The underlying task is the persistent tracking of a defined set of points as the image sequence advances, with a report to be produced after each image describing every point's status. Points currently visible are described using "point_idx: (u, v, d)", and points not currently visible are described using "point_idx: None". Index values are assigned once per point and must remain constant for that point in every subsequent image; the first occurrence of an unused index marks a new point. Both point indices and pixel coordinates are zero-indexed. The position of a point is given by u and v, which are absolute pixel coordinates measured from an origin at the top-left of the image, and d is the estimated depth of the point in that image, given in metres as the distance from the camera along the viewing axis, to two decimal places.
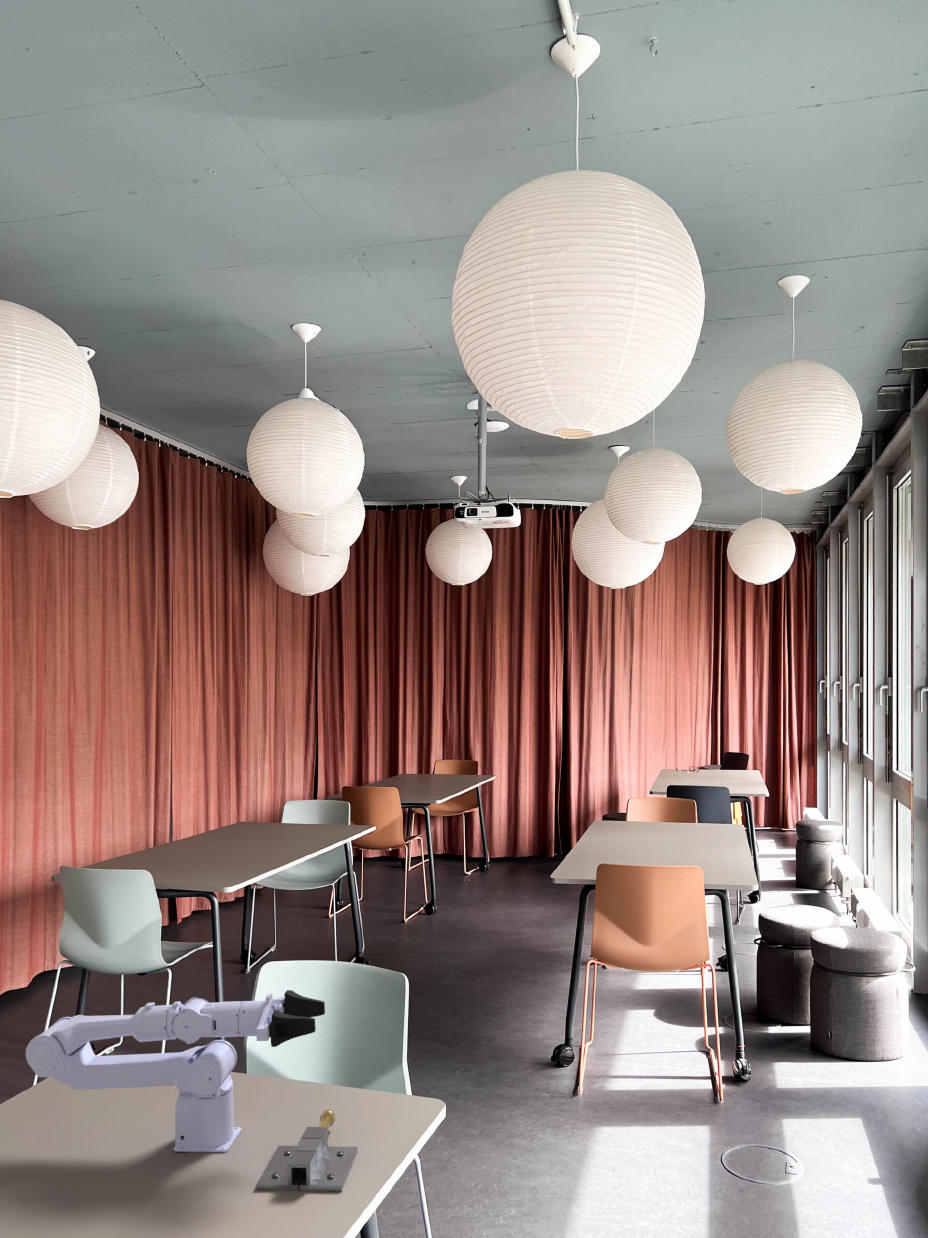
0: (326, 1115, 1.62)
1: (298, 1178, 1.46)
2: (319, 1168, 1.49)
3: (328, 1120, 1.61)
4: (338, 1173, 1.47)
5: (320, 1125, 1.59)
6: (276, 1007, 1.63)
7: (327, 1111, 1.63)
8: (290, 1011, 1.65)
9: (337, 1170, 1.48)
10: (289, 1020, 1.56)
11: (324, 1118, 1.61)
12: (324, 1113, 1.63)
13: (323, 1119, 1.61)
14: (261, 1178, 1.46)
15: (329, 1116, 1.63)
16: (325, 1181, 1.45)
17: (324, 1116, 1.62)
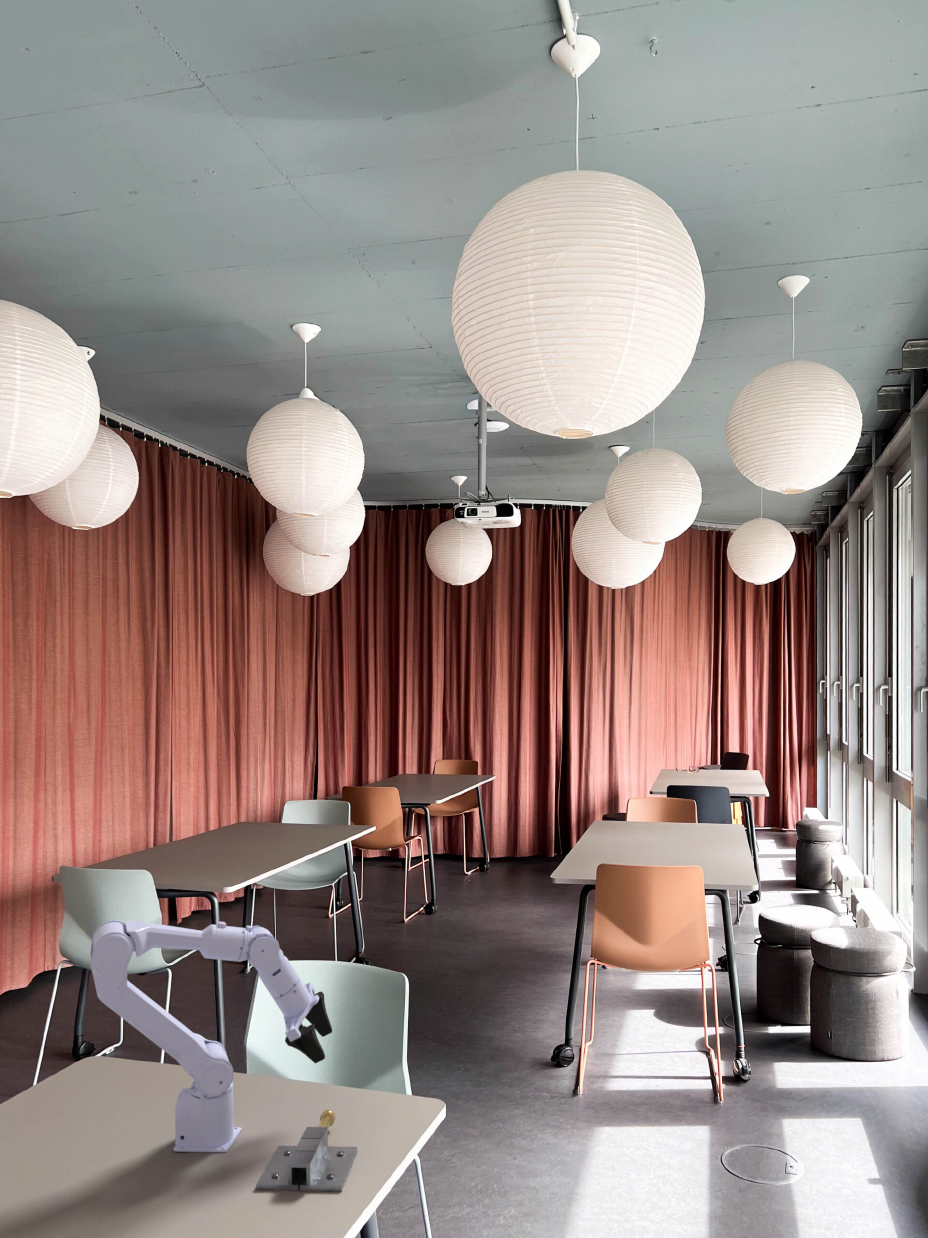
0: (326, 1115, 1.62)
1: (298, 1178, 1.46)
2: (319, 1168, 1.49)
3: (328, 1120, 1.61)
4: (338, 1173, 1.47)
5: (320, 1125, 1.59)
6: None
7: (327, 1111, 1.63)
8: None
9: (337, 1170, 1.48)
10: (314, 1043, 1.63)
11: (324, 1118, 1.61)
12: (324, 1113, 1.63)
13: (323, 1119, 1.61)
14: (261, 1178, 1.46)
15: (329, 1116, 1.63)
16: (325, 1181, 1.45)
17: (324, 1116, 1.62)
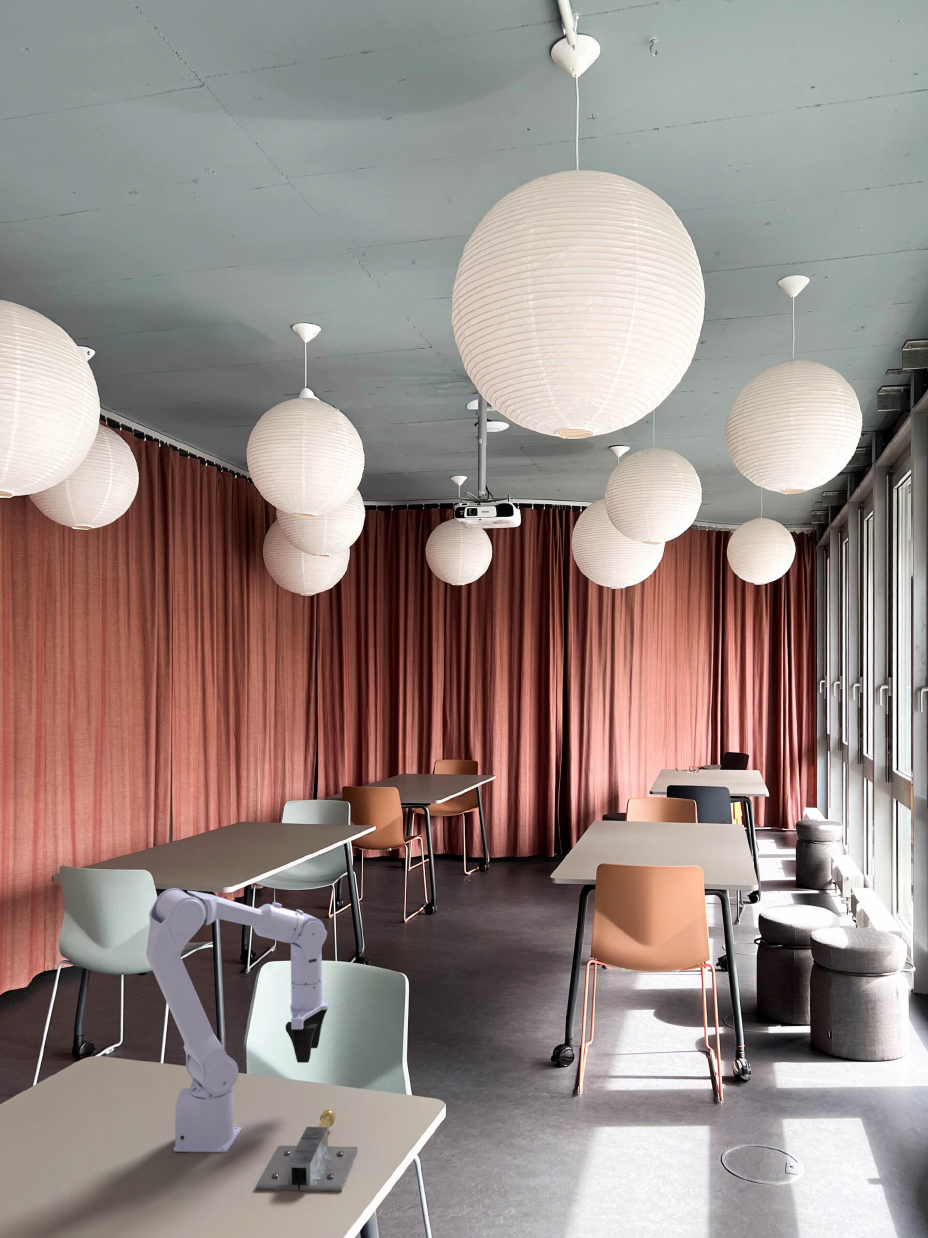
0: (326, 1115, 1.62)
1: (298, 1178, 1.46)
2: (319, 1168, 1.49)
3: (328, 1120, 1.61)
4: (338, 1173, 1.47)
5: (320, 1125, 1.59)
6: None
7: (327, 1111, 1.63)
8: None
9: (337, 1170, 1.48)
10: (309, 1042, 1.68)
11: (324, 1118, 1.61)
12: (324, 1113, 1.63)
13: (323, 1119, 1.61)
14: (261, 1178, 1.46)
15: (329, 1116, 1.63)
16: (325, 1181, 1.45)
17: (324, 1116, 1.62)
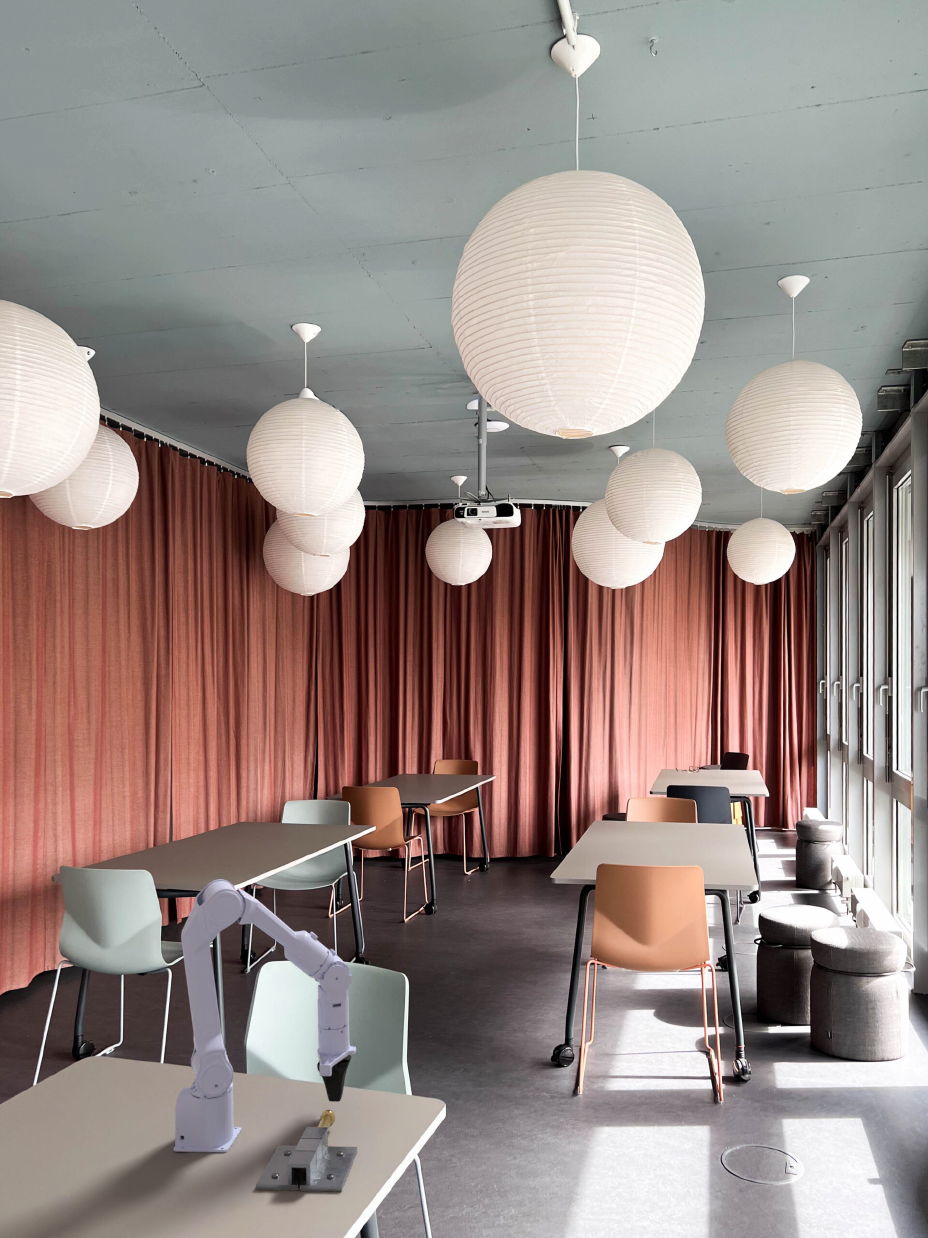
0: (326, 1115, 1.62)
1: (298, 1178, 1.46)
2: (319, 1168, 1.49)
3: (328, 1120, 1.61)
4: (338, 1173, 1.47)
5: (320, 1125, 1.59)
6: None
7: (327, 1111, 1.63)
8: None
9: (337, 1170, 1.48)
10: (340, 1081, 1.68)
11: (324, 1118, 1.61)
12: (324, 1113, 1.63)
13: (323, 1119, 1.61)
14: (261, 1178, 1.46)
15: (329, 1116, 1.63)
16: (325, 1181, 1.45)
17: (324, 1116, 1.62)
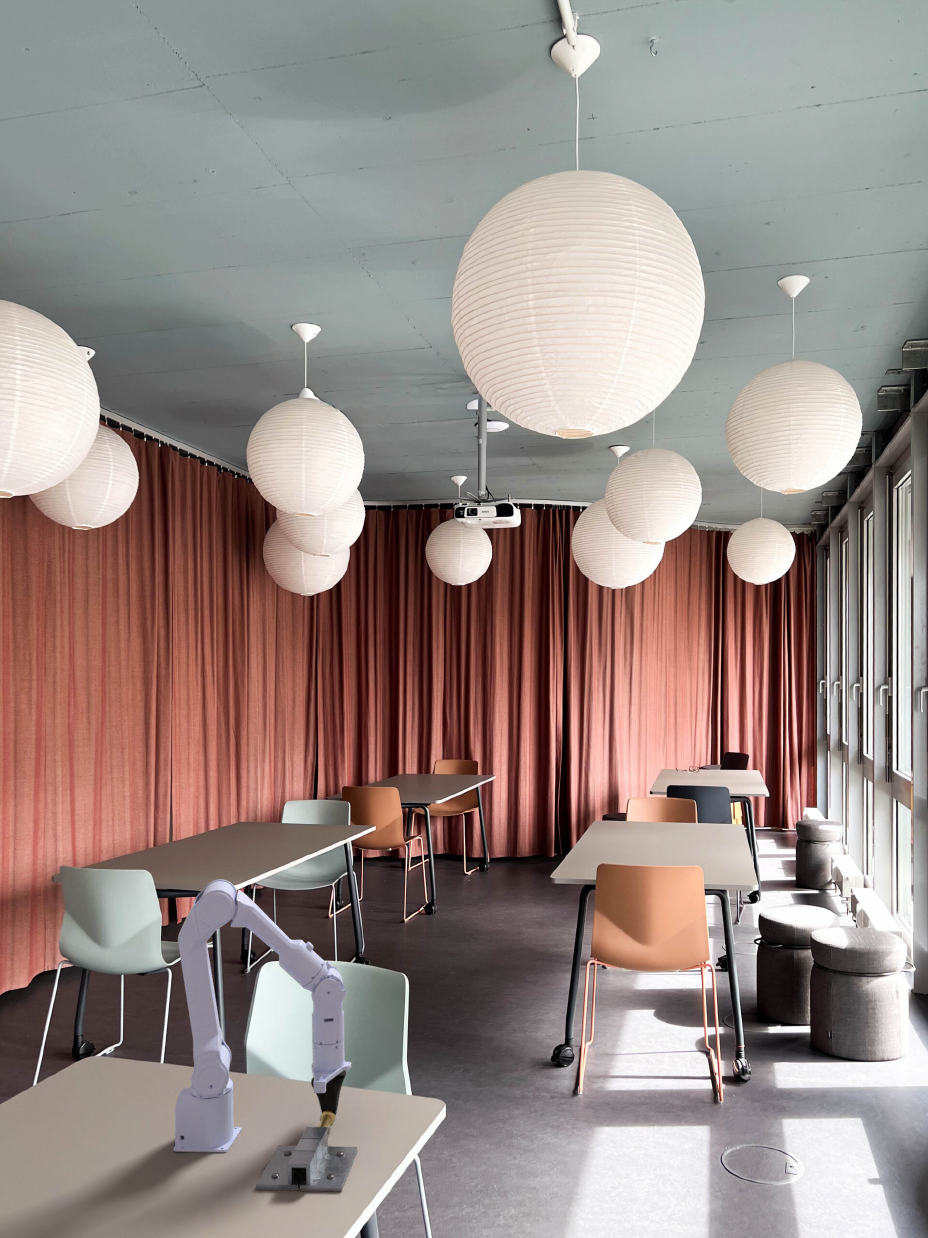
0: (326, 1116, 1.62)
1: (298, 1178, 1.46)
2: (319, 1168, 1.49)
3: (328, 1120, 1.61)
4: (338, 1173, 1.47)
5: (320, 1125, 1.59)
6: None
7: (327, 1111, 1.63)
8: None
9: (337, 1170, 1.48)
10: (335, 1097, 1.63)
11: (324, 1119, 1.61)
12: (324, 1113, 1.63)
13: (322, 1119, 1.61)
14: (261, 1178, 1.46)
15: (329, 1116, 1.63)
16: (325, 1181, 1.45)
17: (324, 1116, 1.62)
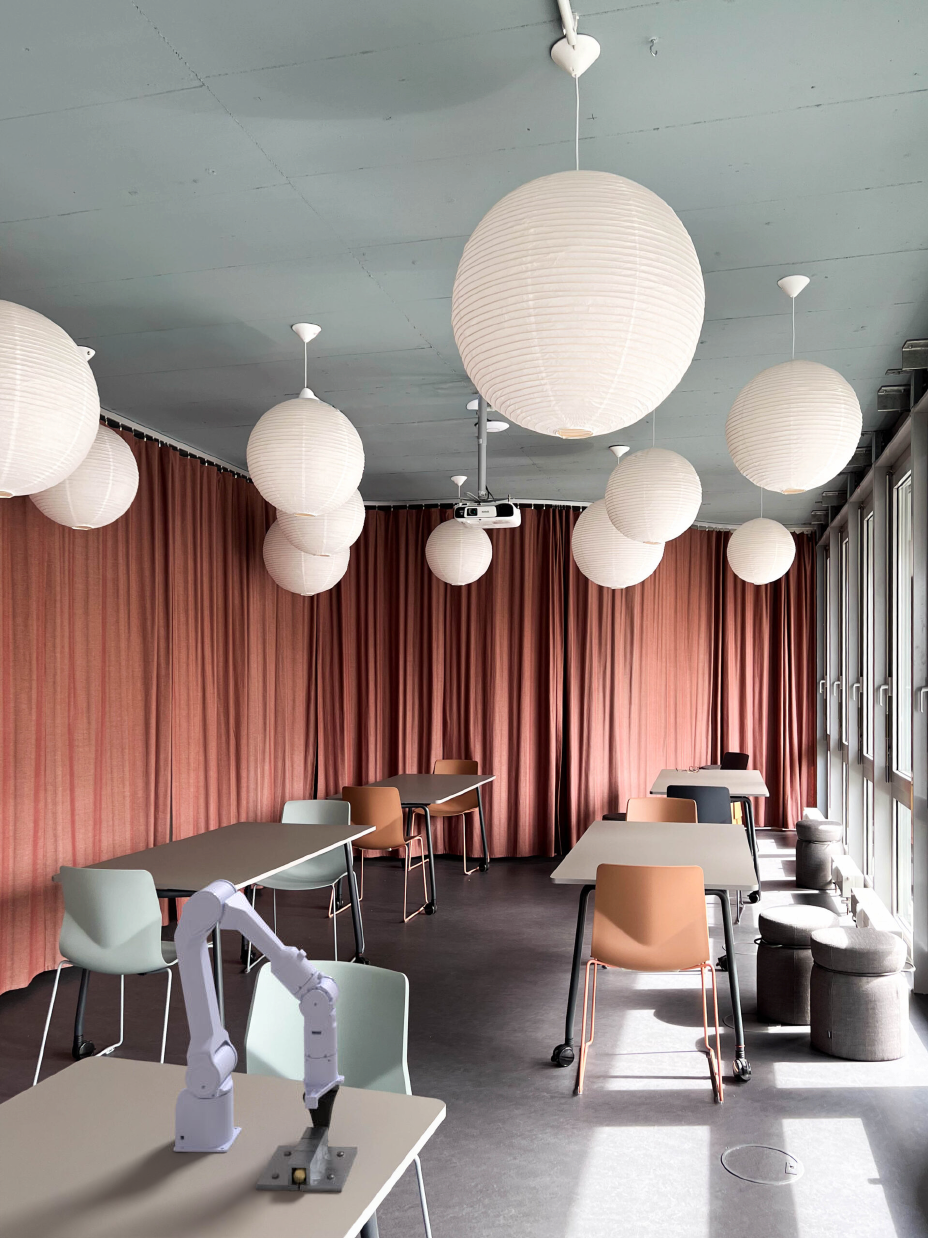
0: None
1: None
2: (319, 1168, 1.49)
3: None
4: (338, 1173, 1.47)
5: None
6: None
7: None
8: None
9: (337, 1170, 1.48)
10: (327, 1112, 1.58)
11: None
12: None
13: None
14: (261, 1178, 1.46)
15: None
16: (325, 1181, 1.45)
17: None
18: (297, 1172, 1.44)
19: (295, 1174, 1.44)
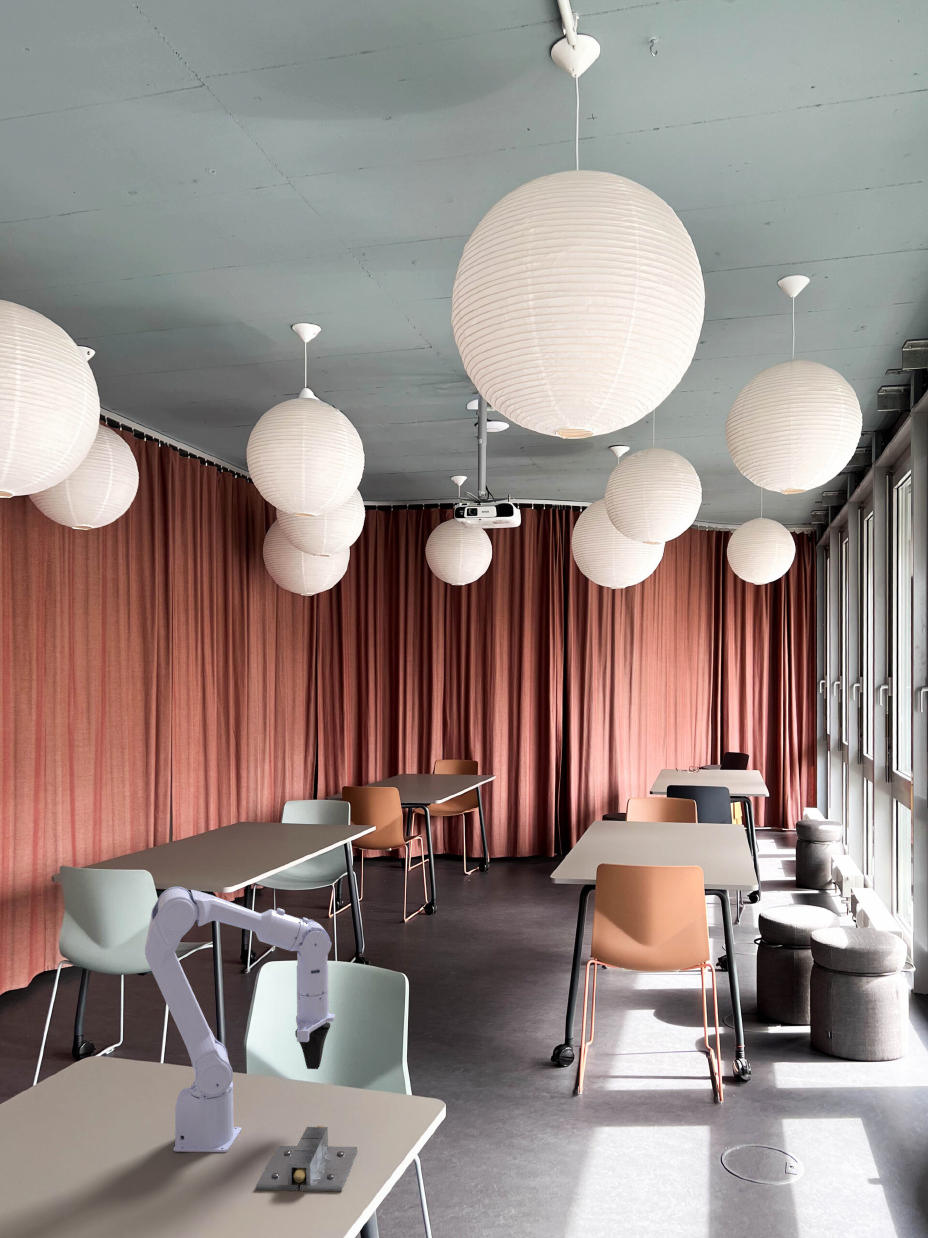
0: None
1: None
2: (319, 1168, 1.49)
3: None
4: (338, 1173, 1.47)
5: None
6: None
7: None
8: None
9: (337, 1170, 1.48)
10: (318, 1048, 1.66)
11: None
12: None
13: None
14: (261, 1178, 1.46)
15: None
16: (325, 1181, 1.45)
17: None
18: (297, 1172, 1.44)
19: (295, 1174, 1.44)
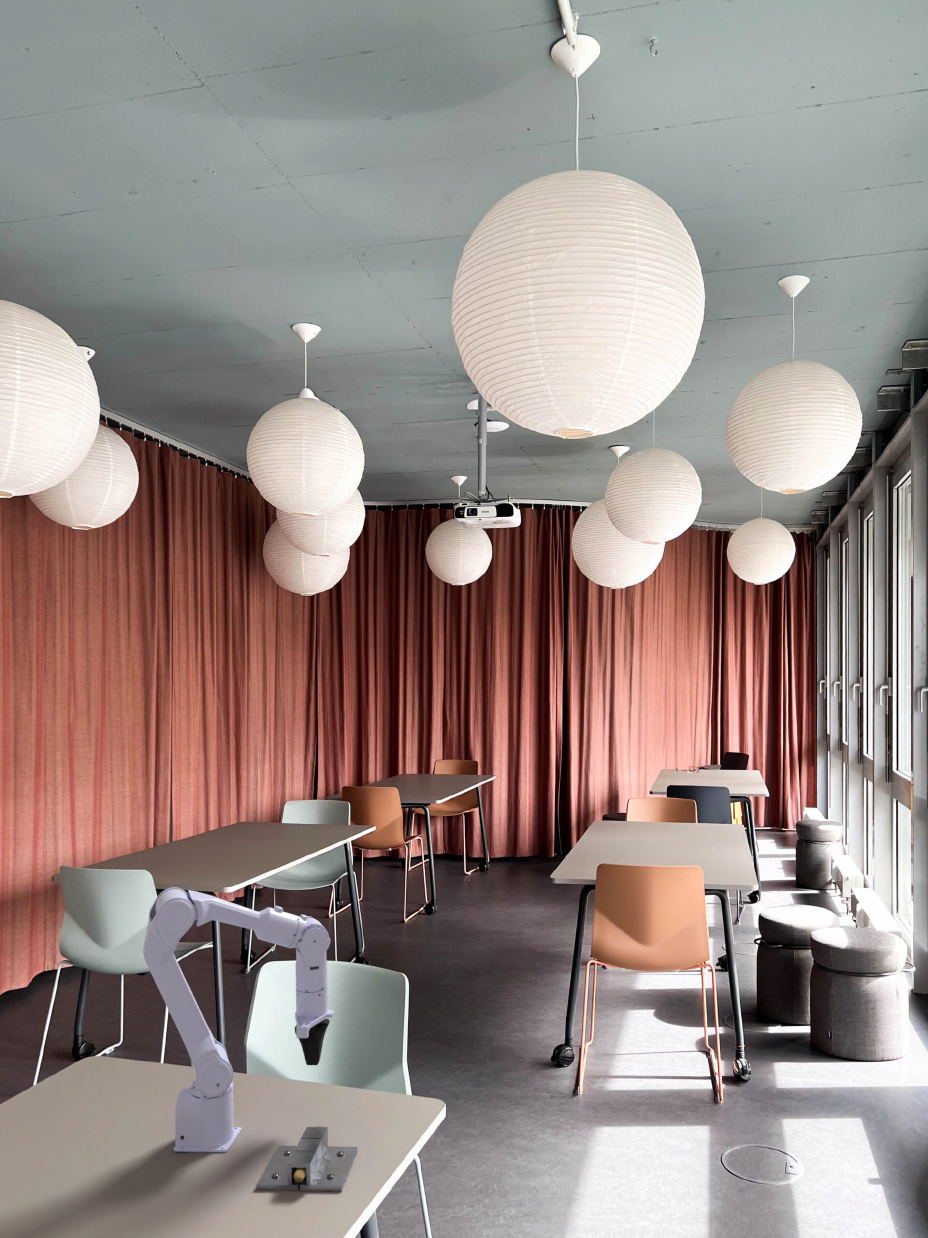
0: None
1: None
2: (319, 1168, 1.49)
3: None
4: (338, 1173, 1.47)
5: None
6: None
7: None
8: None
9: (337, 1170, 1.48)
10: (318, 1044, 1.66)
11: None
12: None
13: None
14: (261, 1178, 1.46)
15: None
16: (325, 1181, 1.45)
17: None
18: (297, 1172, 1.44)
19: (295, 1174, 1.44)
